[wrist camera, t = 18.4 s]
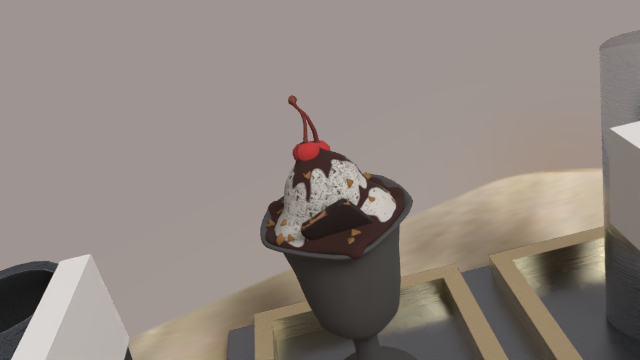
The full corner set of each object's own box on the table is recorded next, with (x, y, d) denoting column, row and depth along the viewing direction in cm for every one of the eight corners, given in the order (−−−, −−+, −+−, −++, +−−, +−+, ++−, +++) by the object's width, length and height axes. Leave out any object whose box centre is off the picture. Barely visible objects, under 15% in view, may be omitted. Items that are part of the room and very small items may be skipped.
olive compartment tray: (223, 568, 25) (81, 274, 18) (232, 341, 38) (149, 119, 31) (944, 388, 25) (1053, 29, 18) (710, 221, 37) (726, -27, 31)
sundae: (350, 326, 35) (288, 77, 29) (463, 354, 31) (419, 74, 25) (285, 412, 30) (192, 138, 24) (407, 457, 27) (336, 145, 20)
